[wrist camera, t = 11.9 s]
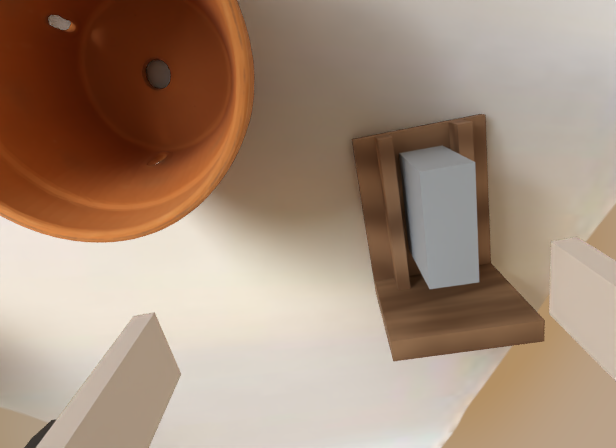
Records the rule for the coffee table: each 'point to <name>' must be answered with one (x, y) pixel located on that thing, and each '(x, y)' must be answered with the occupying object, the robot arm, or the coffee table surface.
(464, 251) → the blue-gray rectangular block
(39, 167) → the flower pot
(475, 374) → the coffee table surface
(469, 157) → the track
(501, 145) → the coffee table surface
